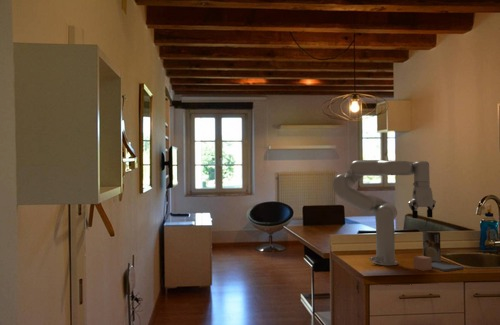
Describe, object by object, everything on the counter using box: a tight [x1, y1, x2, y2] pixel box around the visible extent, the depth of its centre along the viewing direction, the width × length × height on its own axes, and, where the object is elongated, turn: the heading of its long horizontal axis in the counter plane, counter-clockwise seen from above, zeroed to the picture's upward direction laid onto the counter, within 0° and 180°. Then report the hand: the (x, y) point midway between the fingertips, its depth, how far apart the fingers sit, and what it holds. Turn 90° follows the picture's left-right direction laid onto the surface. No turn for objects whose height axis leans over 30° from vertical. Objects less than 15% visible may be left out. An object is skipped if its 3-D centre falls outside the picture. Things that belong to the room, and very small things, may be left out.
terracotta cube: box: [413, 255, 433, 271], centre depth 223 cm, size 6×6×6 cm
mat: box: [432, 261, 464, 272], centre depth 227 cm, size 14×14×1 cm
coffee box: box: [422, 230, 442, 263], centre depth 244 cm, size 9×6×16 cm
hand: (422, 217), depth 228 cm, fingers open, 9 cm apart
